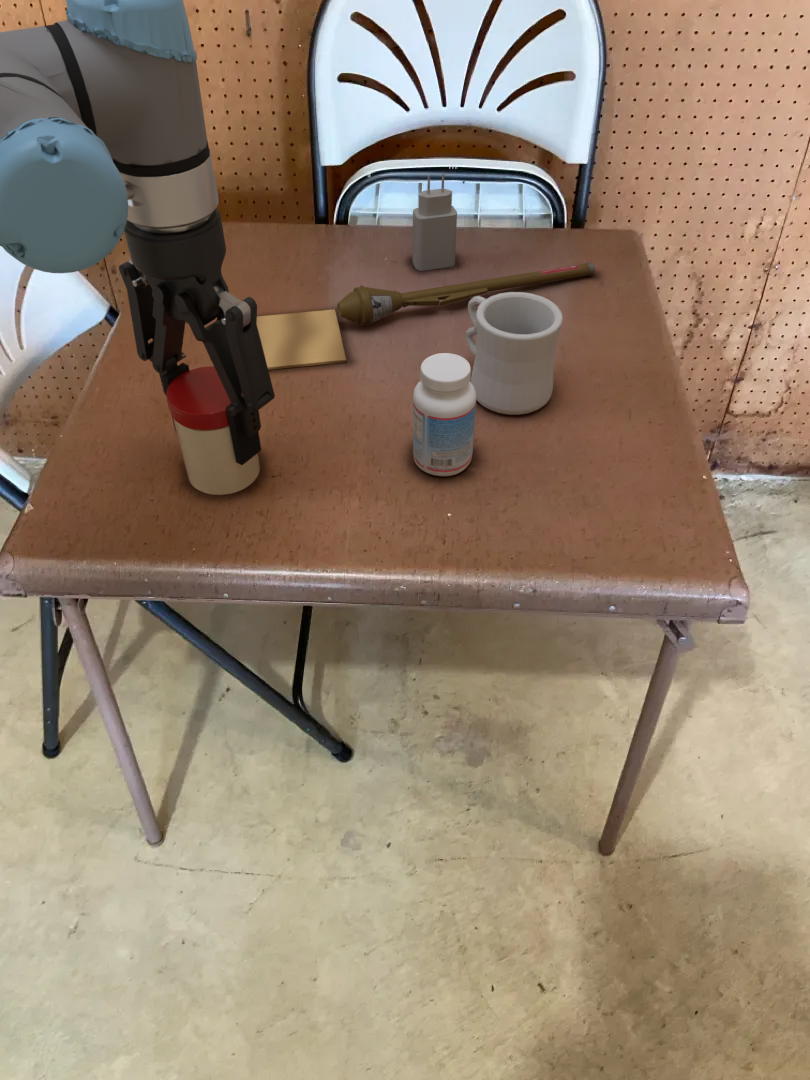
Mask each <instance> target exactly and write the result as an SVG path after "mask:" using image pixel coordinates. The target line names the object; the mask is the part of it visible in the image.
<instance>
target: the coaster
mask: <svg viewBox="0 0 810 1080" xmlns="http://www.w3.org/2000/svg"><path fill="white" fill-rule="evenodd" d="M257 327H258V331H259V335H260V339H261V343H262V347H263V351H264V355H265V359H266V363H267V367H268V371H272V370H274V371H275V370H283V369H292V368H303V367H313V366H321V365H332V364H333V365H334V364H340V363H341V364H342V363H343V364H345V363H347V357H346V352H345V347H344V343H343V338H342V335H341V330H340V325H339V321H338V317H337V311H336V309H335V308H333V309H325V310H312V311H311V310H310V311H302V312H292V313H291V312H289V313H281V314H269V315H268V314H267V315H260V316H259V315H257Z"/></svg>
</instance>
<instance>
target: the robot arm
mask: <svg viewBox="0 0 810 1080" xmlns="http://www.w3.org/2000/svg"><path fill="white" fill-rule="evenodd" d="M65 3H66V10H65V15H66V18H67V19H66V20H60V21H56V22H54V23H53V24H47V25H42V26H41V25H40V26H34V27H27V28H20V29H13V30H6V31H0V247H2V248H3V249H4V251H5V252H6V253H7V254H8V255H10V256H11V257H13V258H14V259H15V260H16V261H18V262H19V263H21V264H23V265H24V266H27V267H29V268H31V269H34V270H36V271H40V272H44V273H50V274H71V273H76V272H80V271H84V270H86V269H89V268H91V267H94V266H95V265H97V264H99V263H100V262H102V261H103V260H104V259H105V258H107V257H108V256H109V255H110V254H111V253H112V251H114V250H115V248H116V246H117V245H118V244H119V242H120V241H121V238H122V236H123V235H124V236H125V241H126V244H127V248H128V252H129V256H130V259H129V260H127V261H125V262H123V263H121V264H119V266H118V271H119V274H120V276H121V279H122V281H123V284H124V286H125V289H126V292H127V299H128V305H129V311H130V316H131V322H132V329H133V336H134V342H135V347H136V353H137V355H138V358H140V360H142V361H144V362H147V361H148V360H149V362H151V364H152V368H153V369H154V371H155V372H156V373H158V375H159V379H160V382H161V386H162V390H163V393H164V395H165V397H166V398H167V395H166V394H167V389H168V387H169V385H170V384H171V382H172V381H173V380H174V379H175V378H177V377H178V376H180V375H181V374H183V373H185V372H187V371H190V370H191V369H190V366H189V364H188V363H187V364H186V363H184V362H181V363H180V364H178V363H179V362H180V361H182V360H183V359H185V358H187V354H185V353H184V352H183V343H184V338H185V337H184V336H185V329H186V324H187V325H188V326H189V328H190V330H191V332H192V334H193V336H194V338H195V340H196V341H198V342H201V343H203V346H204V348H205V350H206V352H207V354H208V356H209V358H210V361H211V363H212V366H214V367H215V369H216V371H217V374H218V376H219V378H220V380H221V382H222V384H223V386H224V389H225V391H226V393H227V395H228V397H229V399H230V401H231V404H230V405H228V406H227V407H226V411H227V416H228V422H229V427H230V432H231V437H232V442H233V448H234V453H235V458H236V463H238V464H240V465H243V464H245V463H246V462H247V461H248V460H250V459H251V458H252V457H253V456H255V455H256V454H257V453H258V454H259V453H260V452H261V451H262V446H261V439H260V434H259V432H260V431H261V428H262V422H261V418H260V410H261V409H262V408H264V407H265V406H266V405H267V404H269V403H270V402H271V401H273V400H274V399H275V397H276V396H275V395H276V394H275V392H274V387H273V383H272V380H271V375H270V370H268V367H267V363H266V359H265V355H264V351H263V347H262V343H261V339H260V335H259V331H258V327H257V316H258V304H257V302H256V300H255V298H253V297H251V296H247V297H245V298H244V299H242V300H241V299H240V298H239V297H237V296H235V295H234V294H232V293H230V291H229V286H228V284H227V282H226V280H225V279H224V276H223V274H222V267H223V263H224V260H225V258H226V252H227V245H226V239H225V233H224V227H223V221H222V214H221V212H220V210H219V209H218V208H217V207H218V205H219V204H220V203H219V192H218V188H217V182H216V176H215V171H214V166H213V159H212V153H211V149H210V147H209V141H208V135H207V128H206V121H205V115H204V108H203V100H202V94H201V88H200V87H201V86H200V85H201V84H200V78H199V72H198V66H197V60H198V55H197V51H196V50H195V46H194V42H193V36H192V32H191V27H190V23H189V19H188V15H187V11H186V6H185V2H184V0H65ZM214 320H215V321H214ZM213 321H214V322H213ZM149 341H150V342H149ZM242 392H243V393H242ZM171 419H172V423H173V427H174V431H175V432H176V428H175V424H174V420H173V417H172V416H171Z"/></svg>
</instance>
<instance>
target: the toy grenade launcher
mask: <svg viewBox="0 0 810 1080" xmlns="http://www.w3.org/2000/svg"><path fill="white" fill-rule="evenodd" d="M595 271H596V267H595V264H594V262H592V261H591V262H586V263H580V264H575V265H569V266H562V267H556V268H550V269H544V270H538V271H532V272H531V271H530V272H525V273H518V274H513V275H506V276H500V277H499V276H498V277H494V278H487V279H481V280H475V281H469V282H463V283H457V284H450V285H445V286H444V285H443V286H438V287H431V288H426V289H418V290H413V291H406V292H400V291H397V290H391V289H390V290H389V289H383V288H377V287H370V286H369V287H368V286H365V285H359V286H357V287H356V286H355V287H354V288H353V289H352V291H350V292H349V293H348V294H346V295H345V296H344V297H343V298H342V299H341V300H339V301H338V302H337V304H336V310H337V311H336V312H337V314H338V317H340V318H343V319H344V320H347V321H349V322H352V323H354V324H358V325H359V326H366V327H368V326H370V325H371V324H372V323H374V322H376V321H378V320H380V319H382V318H385V317H387V316H389V315H391V314H393V313H394V312H397V311H399V310H400V309H402V308H407V307H435V306H436V307H437V306H438V307H442V306H446V305H450V304H454V303H458V302H461V301H462V302H463V301H466V300H471V298H473V297H476V296H482V295H485V294H488V293H489V292H490V293H491V292H496V291H501V290H508V289H513V288H514V289H515V288H519V287H525V286H533V285H537V284H544V283H550V282H555V281H563V280H568V279H574V278H575V279H576V278H580V277H586V276H587V277H589V276H594V274H595Z"/></svg>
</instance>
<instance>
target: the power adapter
mask: <svg viewBox="0 0 810 1080" xmlns="http://www.w3.org/2000/svg"><path fill="white" fill-rule="evenodd" d="M426 188H427V190H422V191H421V192H420V193H418V207H416V208H414V209H412V257H411V258H412V260H411V261H412V262H411V263H412V265H413V266H414V268H415V270H417V271H419V272H424V271H432V270H439V269H446V268H452V267H455V264H456V246H457V245H456V244H457V223H458V211H457V209H456V208H455V207H454V206H453V205H452V203H453V191H452V190H451V189H448V188H445V173H444V172H442V173H441V188H434V189H431V174H428V175H427V187H426Z"/></svg>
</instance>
